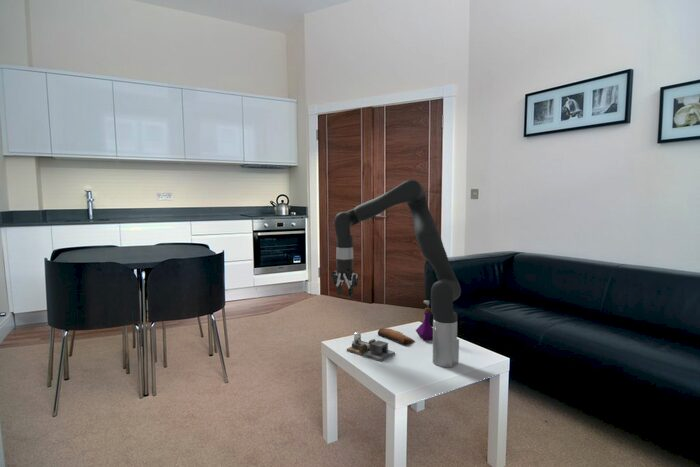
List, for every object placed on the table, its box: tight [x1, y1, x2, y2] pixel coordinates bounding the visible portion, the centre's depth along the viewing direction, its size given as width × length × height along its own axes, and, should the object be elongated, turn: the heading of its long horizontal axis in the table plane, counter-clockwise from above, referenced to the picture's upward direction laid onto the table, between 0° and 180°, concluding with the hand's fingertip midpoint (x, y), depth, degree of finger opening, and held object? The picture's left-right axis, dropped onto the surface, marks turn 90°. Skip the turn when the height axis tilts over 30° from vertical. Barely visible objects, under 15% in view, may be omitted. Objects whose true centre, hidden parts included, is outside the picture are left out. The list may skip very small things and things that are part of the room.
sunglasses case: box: [377, 327, 416, 346], centre depth 183 cm, size 18×7×7 cm
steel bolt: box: [351, 331, 370, 350], centre depth 169 cm, size 8×3×6 cm, turn 51°
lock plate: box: [346, 338, 396, 362], centre depth 166 cm, size 18×10×5 cm, turn 51°
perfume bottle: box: [415, 300, 433, 341], centre depth 182 cm, size 8×8×18 cm
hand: (344, 295), depth 173 cm, fingers open, 5 cm apart
